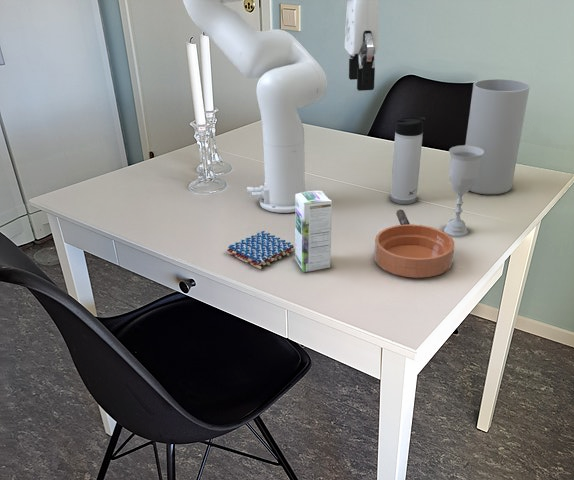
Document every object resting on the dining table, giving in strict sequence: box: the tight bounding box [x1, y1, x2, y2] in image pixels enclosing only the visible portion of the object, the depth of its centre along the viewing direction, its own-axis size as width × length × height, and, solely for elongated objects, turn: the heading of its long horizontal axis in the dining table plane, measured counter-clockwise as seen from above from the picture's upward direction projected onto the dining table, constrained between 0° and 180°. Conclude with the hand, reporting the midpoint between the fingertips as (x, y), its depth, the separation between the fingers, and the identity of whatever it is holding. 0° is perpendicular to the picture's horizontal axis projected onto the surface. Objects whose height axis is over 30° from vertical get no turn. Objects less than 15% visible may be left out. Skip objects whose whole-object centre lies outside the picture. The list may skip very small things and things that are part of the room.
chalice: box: [443, 144, 484, 237], centre depth 128 cm, size 7×7×18 cm
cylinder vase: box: [464, 78, 531, 196], centre depth 147 cm, size 12×12×25 cm
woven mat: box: [226, 230, 295, 271], centre depth 125 cm, size 10×11×2 cm
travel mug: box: [390, 116, 426, 205], centre depth 143 cm, size 6×7×20 cm
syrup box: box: [294, 190, 333, 273], centre depth 117 cm, size 6×6×14 cm
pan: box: [373, 223, 455, 278], centre depth 120 cm, size 15×15×4 cm
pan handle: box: [395, 208, 411, 225], centre depth 129 cm, size 9×2×2 cm, turn 1°
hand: (360, 84), depth 119 cm, fingers open, 9 cm apart
